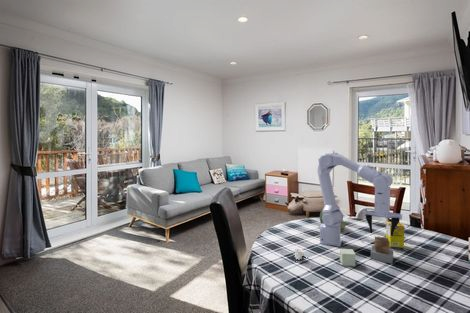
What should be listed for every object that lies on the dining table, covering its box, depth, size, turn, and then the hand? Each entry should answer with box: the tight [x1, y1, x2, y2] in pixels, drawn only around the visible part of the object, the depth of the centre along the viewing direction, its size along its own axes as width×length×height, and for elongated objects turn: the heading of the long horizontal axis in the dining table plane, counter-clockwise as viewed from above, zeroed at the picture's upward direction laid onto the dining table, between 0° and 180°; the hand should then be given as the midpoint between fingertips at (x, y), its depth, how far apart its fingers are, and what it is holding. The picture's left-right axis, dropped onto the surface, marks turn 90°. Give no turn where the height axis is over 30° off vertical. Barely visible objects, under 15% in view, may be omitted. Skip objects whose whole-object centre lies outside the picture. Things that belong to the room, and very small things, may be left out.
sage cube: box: [339, 248, 356, 267], centre depth 111 cm, size 5×5×5 cm
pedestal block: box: [370, 245, 394, 265], centre depth 116 cm, size 8×8×4 cm
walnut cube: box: [374, 236, 391, 254], centre depth 115 cm, size 5×5×5 cm
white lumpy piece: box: [294, 248, 308, 261], centre depth 116 cm, size 9×8×4 cm
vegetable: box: [319, 209, 347, 230], centre depth 154 cm, size 12×13×15 cm
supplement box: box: [385, 221, 405, 250], centre depth 127 cm, size 6×6×11 cm
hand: (381, 233), depth 116 cm, fingers open, 7 cm apart
